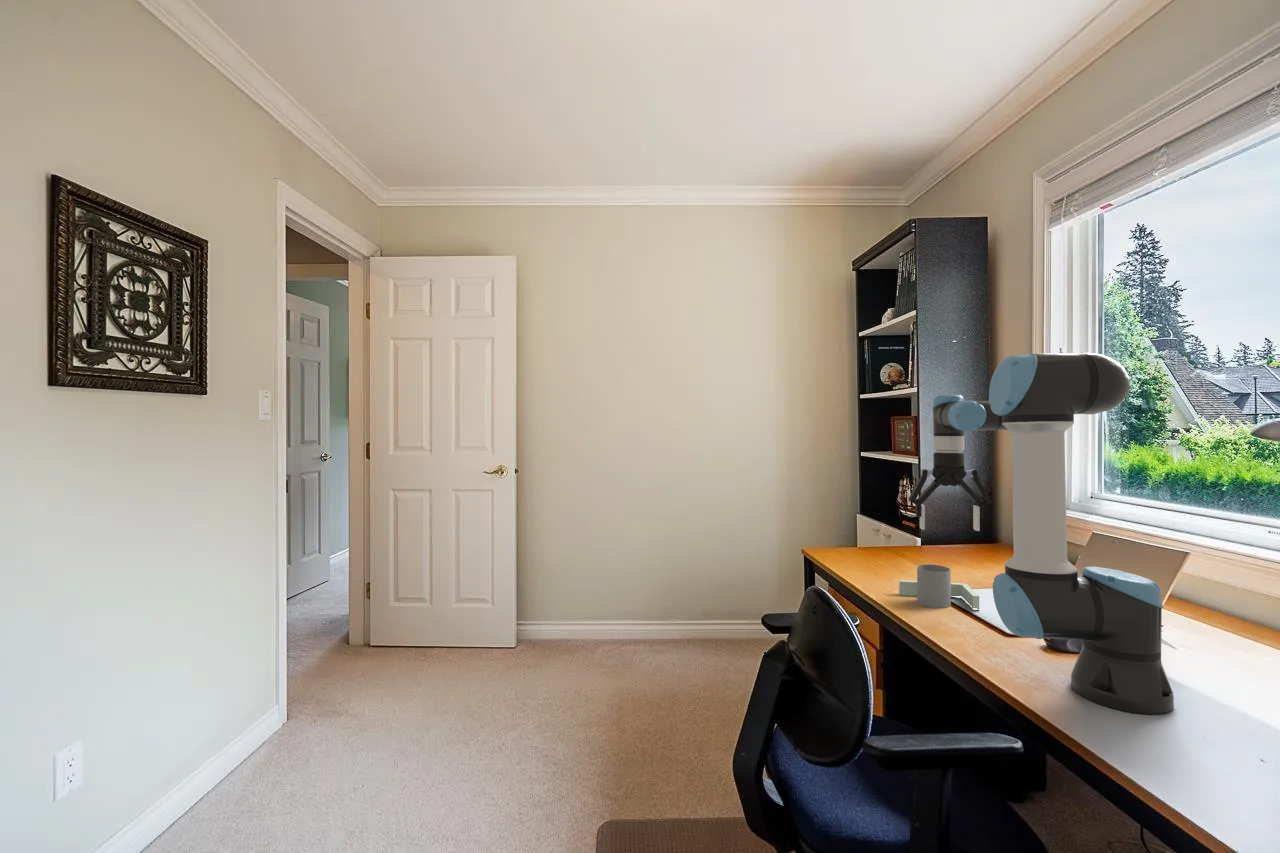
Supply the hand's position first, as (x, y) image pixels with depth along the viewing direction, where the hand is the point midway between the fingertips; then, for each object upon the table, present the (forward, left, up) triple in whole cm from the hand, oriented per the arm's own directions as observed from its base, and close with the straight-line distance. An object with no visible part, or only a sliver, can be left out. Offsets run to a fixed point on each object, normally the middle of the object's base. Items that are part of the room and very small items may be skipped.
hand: (949, 529), depth 165 cm
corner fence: (+5, +2, -21) cm, 22 cm away
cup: (+3, +3, -22) cm, 22 cm away
